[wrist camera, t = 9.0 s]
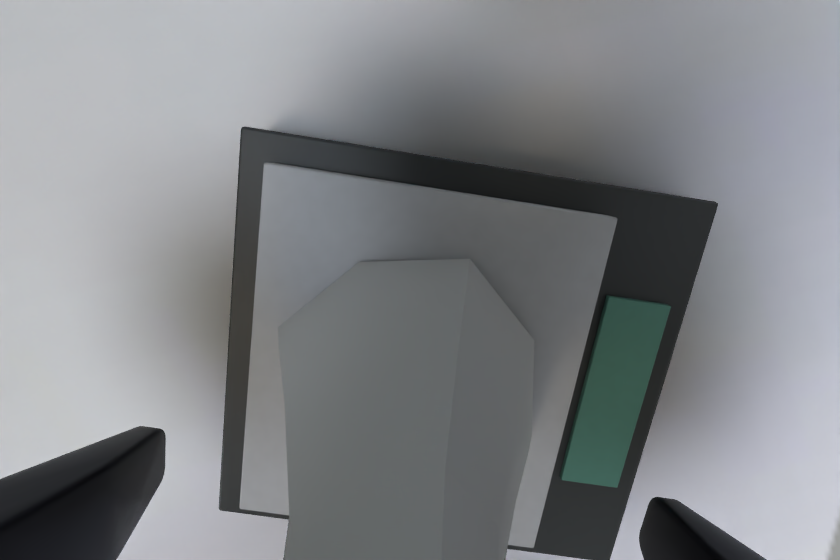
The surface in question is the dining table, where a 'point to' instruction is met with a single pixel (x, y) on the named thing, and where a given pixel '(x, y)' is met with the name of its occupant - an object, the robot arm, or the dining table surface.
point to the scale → (508, 275)
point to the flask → (405, 415)
